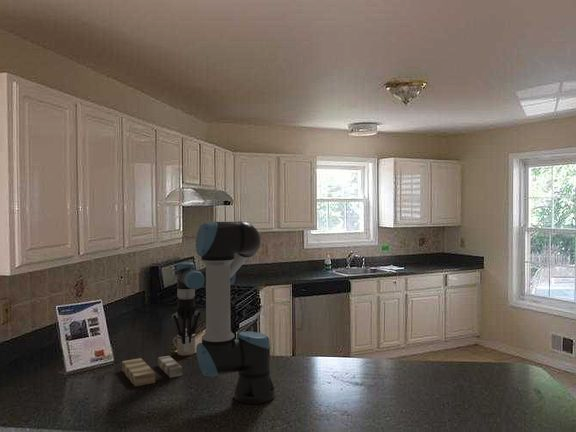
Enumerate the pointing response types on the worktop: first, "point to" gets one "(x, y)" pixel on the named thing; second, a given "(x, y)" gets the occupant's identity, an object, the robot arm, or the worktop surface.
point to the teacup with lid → (181, 346)
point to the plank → (170, 366)
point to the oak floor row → (138, 372)
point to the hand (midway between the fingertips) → (186, 350)
